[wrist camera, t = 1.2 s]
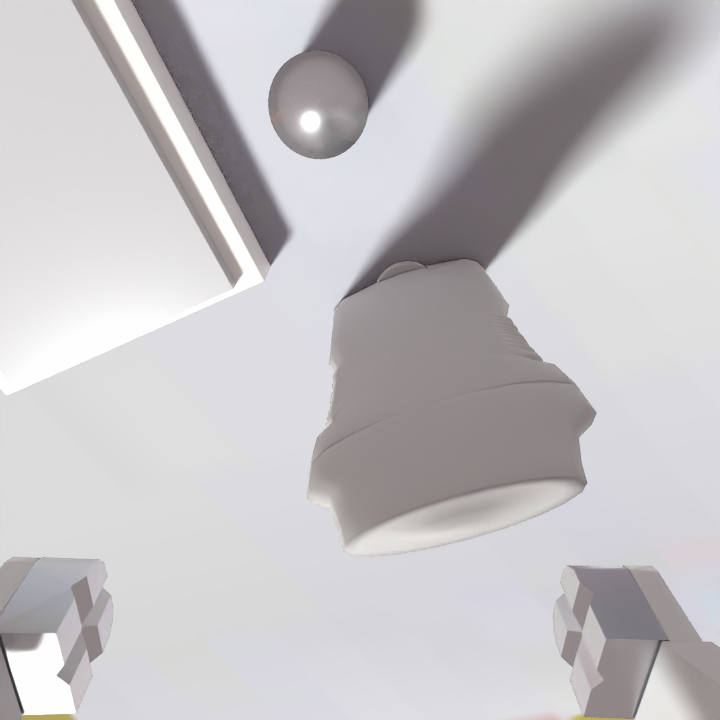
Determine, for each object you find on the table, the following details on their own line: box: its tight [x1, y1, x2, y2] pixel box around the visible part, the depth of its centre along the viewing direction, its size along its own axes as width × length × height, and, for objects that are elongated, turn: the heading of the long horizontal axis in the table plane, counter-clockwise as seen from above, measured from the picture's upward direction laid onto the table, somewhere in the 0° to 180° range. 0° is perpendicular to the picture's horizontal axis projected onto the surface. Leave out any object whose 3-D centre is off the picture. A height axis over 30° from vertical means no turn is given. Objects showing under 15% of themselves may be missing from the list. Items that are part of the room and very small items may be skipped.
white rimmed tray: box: [0, 0, 271, 395], centre depth 32 cm, size 18×22×4 cm
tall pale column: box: [307, 258, 596, 557], centre depth 28 cm, size 11×4×22 cm, turn 110°
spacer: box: [268, 50, 368, 159], centre depth 30 cm, size 5×5×6 cm
